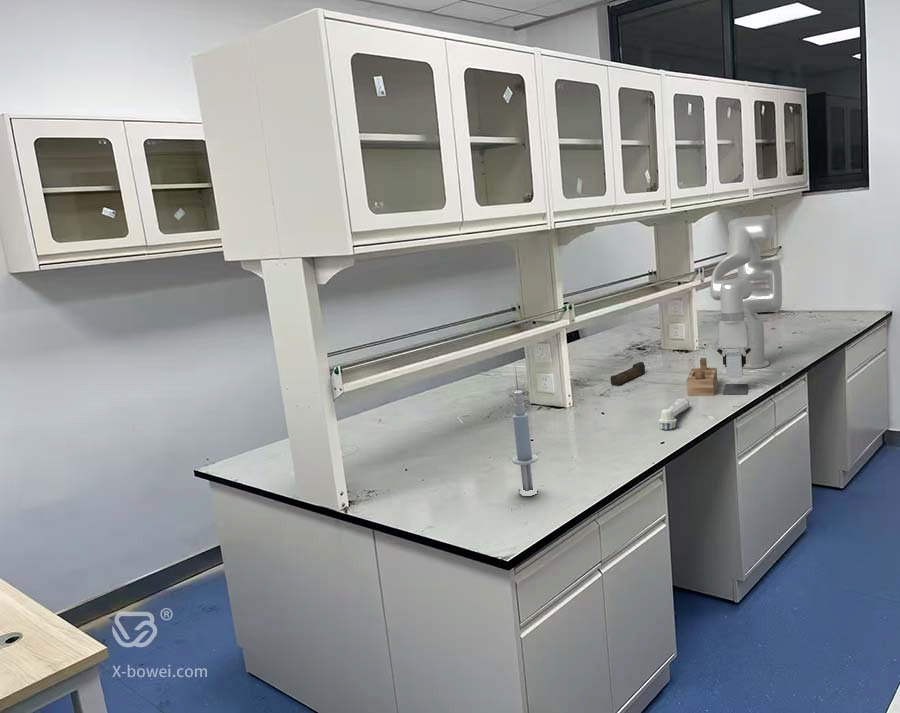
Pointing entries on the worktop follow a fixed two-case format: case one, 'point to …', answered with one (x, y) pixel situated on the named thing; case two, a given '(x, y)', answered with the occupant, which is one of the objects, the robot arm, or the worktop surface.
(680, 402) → the electric toothbrush
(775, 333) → the worktop surface
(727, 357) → the silver block
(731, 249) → the robot arm
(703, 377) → the body
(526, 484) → the syringe
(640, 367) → the hand tool
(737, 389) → the rubber mat
